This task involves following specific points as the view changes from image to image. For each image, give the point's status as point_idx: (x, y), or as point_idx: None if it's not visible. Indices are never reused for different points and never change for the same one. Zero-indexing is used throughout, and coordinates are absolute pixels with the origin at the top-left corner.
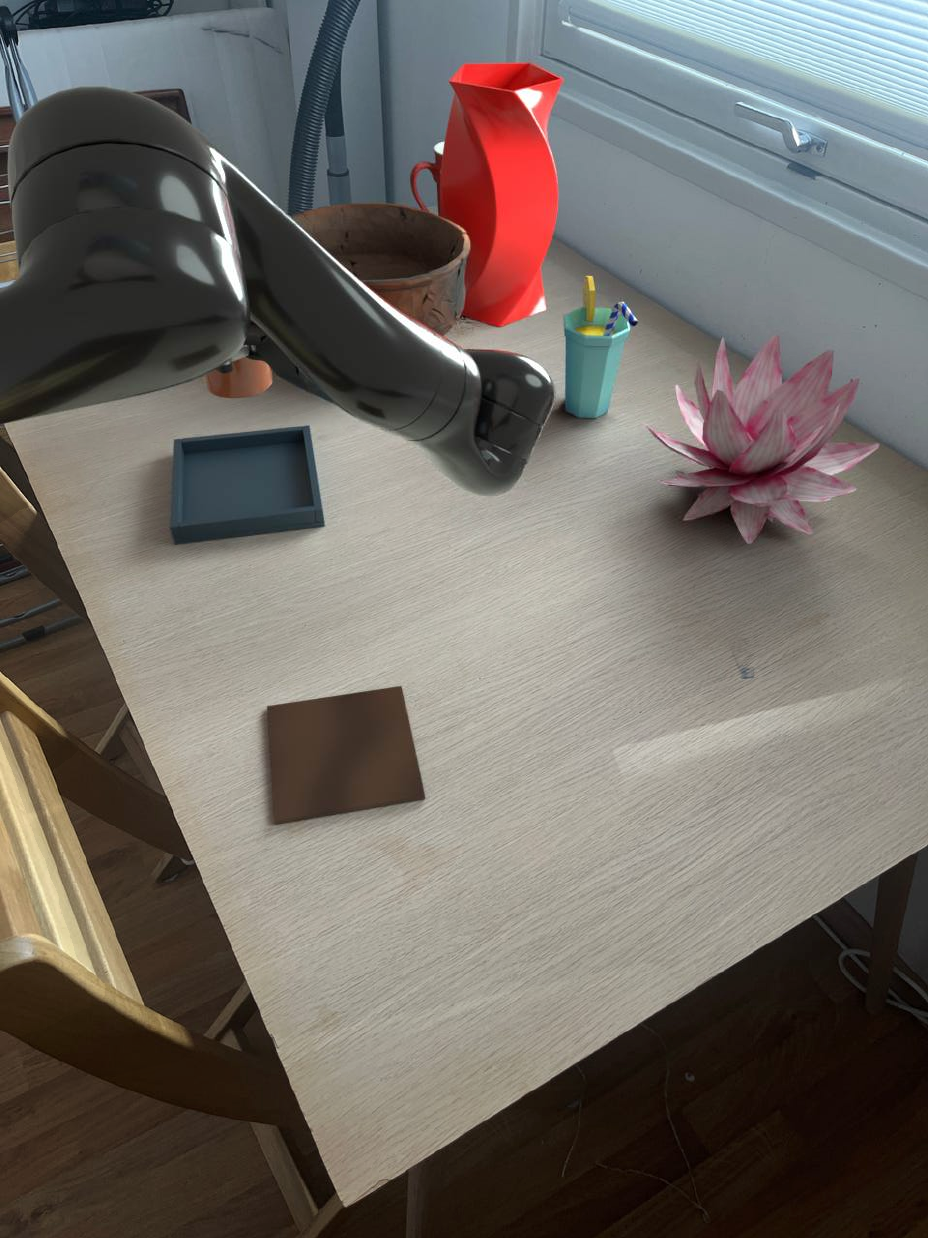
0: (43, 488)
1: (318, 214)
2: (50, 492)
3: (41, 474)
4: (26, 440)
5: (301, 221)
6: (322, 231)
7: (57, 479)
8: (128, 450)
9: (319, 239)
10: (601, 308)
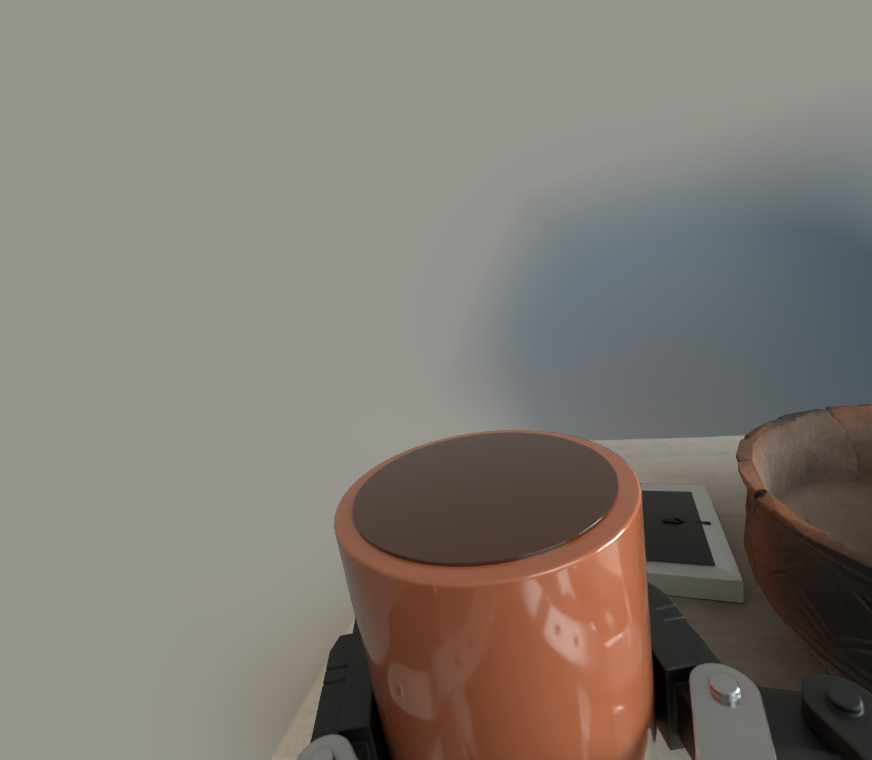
0: (283, 738)
1: (861, 415)
2: (280, 755)
3: (308, 703)
4: (353, 625)
5: (824, 422)
6: (865, 441)
7: (310, 729)
8: None
9: (856, 452)
10: None
